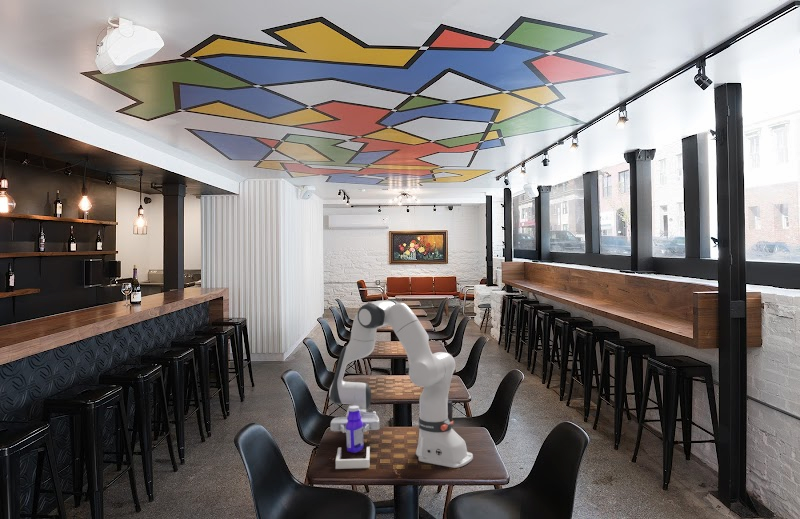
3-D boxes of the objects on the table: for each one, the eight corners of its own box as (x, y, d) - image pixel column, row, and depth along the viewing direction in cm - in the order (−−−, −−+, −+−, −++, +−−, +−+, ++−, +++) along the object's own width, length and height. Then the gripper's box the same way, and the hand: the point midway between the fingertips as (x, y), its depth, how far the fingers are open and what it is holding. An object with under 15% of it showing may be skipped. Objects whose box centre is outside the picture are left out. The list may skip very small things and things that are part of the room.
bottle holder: (338, 455, 189) (338, 447, 189) (369, 454, 189) (369, 446, 189) (335, 468, 176) (335, 460, 176) (369, 467, 177) (369, 459, 177)
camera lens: (433, 437, 207) (432, 402, 207) (435, 430, 215) (435, 397, 215) (451, 438, 205) (451, 403, 205) (453, 431, 213) (453, 398, 213)
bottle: (355, 445, 197) (353, 403, 197) (366, 448, 194) (364, 405, 194) (344, 452, 191) (342, 408, 191) (355, 454, 188) (353, 410, 188)
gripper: (331, 412, 205) (328, 423, 191) (379, 411, 206) (379, 422, 192) (331, 427, 205) (328, 439, 191) (379, 425, 206) (379, 437, 192)
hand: (354, 430), depth 192 cm, fingers closed on bottle, 7 cm apart
